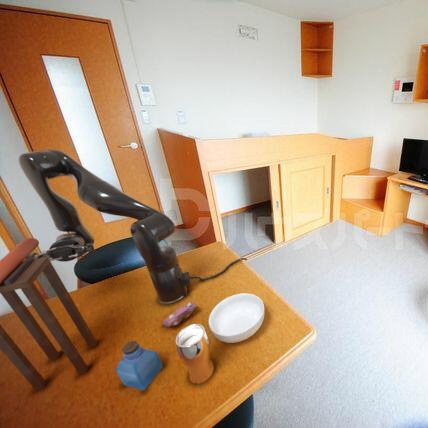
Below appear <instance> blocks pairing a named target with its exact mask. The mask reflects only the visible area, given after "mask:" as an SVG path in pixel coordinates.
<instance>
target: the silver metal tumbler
mask: <svg viewBox="0 0 428 428" xmlns="http://www.w3.org/2000/svg"><path fill="white" fill-rule="evenodd" d="M205 329H206V328H205V327H204V325H202V324H200V323H192V324H189V325H187V326H184V327H183V328H182V329H181V330H180V331H179V332H178V333H177V334H176V336H175V344H176V345H175V346H176V349H177V353H178V356H179V359H180V360H181V362H182V363H183V364H184V366H185V367H186V368H187V369H188V371H189V373H188V374H189V376H188V377H189V380H190V381H191V382H192V383H193V384H202V383H205V382H206V381H208V380H209V378H211V376H212V375H213V373H214V370H215V366H214V363H213V361H212V360H211V352H210V350H211V349H210V339H209V337H208V334H207V332H206V330H205Z"/></svg>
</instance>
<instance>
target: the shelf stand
mask: <svg viewBox="0 0 428 428" xmlns="http://www.w3.org/2000/svg"><path fill="white" fill-rule="evenodd" d="M42 273H43V274H44V276H45V278H46V279H47V281H48V283H49V285H50V286H51V288H52V289H53V291H54V292H55V294H56V296H57V297H58V299H59V301H60V303H61V304H62V306H63V307H64V309H65V311H66V312H67V314H68V315H69V317H70V319H71V320H72V322H73V323H74V326H75V327H76V329H77V330H78V332H79V333H80V336H81V337H82V338H83V340H84V342H85V344H86V345H87V347H88V348H89V349H92V348H95V347H97V344H98V341H97V340H96V338H95V335H94V334H93V333H92V331H91V329H90V328H89V326H88V324H87V322H86V320H85V319H84V317H83V315H82V313H81V312H80V310H79V308H78V307H77V305H76V303H75V302H74V300H73V298H72V296H71V295H70V293H69V292H68V291H69V290H68V289H67V287H66V286H65V284H64V282H63V280H62V279H61V277H60V275H59V274H58V272H57V270H56V269H55V267H54V265H53V264H52V261H51V262H50V260H49V258H48V257H44V258H43V257H42V258H39V259H34V257H33V256H30V257H28V258H27V259H25V260H24V261H23V262H22V263H21V264H20V265H19V266H18V267H17V268H16V269H15V270H14V271H13V272H12V273H11V274H10V275H9V276H8V277H7V278H6V279H5V280H4V281H3V282H2V283H1V284H0V294H1V296H2V297H3V299H4V300H5V301H6V303H7V304H8V305H9V307H10V308H11V310H12V311H13V312H14V314H15V315H16V317H18V319H19V320H20V321H21V323H22V324H23V326H24V327H25V329H27V331H28V333H29V334H30V335H31V337H32V338H33V339H34V340H35V342H36V343H37V344H38V346H39V347H40V348H41V350H42V351H43V353H44V354H45V355H46V356H47V358H48V360H49V361H50V362H53V361H56V360H59V358H60V356H61V354H60V352H59V351H58V349H57V348H56V347H55V346H54V344H53V342H52V341H51V340H50V338H49V337H48V335H47V334H46V332H45V331H44V330H43V328H42V327H41V326H40V324H39V323H38V321H37V320H36V318H35V317H34V316H33V313H31V311H30V309H29V308H28V307H27V305H26V304H25V302H24V301H23V300H22V298H21V296H19V294H18V293H17V292H16V291H17V290H21V292H22V293H23V294H24V296H25V298H26V299H27V301H28V302H29V303H30V305H31V307H32V308H33V309H34V311H35V312H36V313H37V315H38V316H39V318H40V320H41V321H42V323H43V324H44V325H45V326H46V328H47V330H48V331H49V332H50V334H51V335H52V337H53V338H54V340H55V342H56V343H57V344H58V345H59V347H60V348H61V350H62V351H63V353H64V354H65V356H66V357H67V358H68V360H69V362H70V363H71V364H72V366H73V367H74V369H75V370H76V373H78V375H79V376H80V375H84V374H87V372H88V371H89V366H88V365H87V363H86V361H85V360H84V358H83V356H81V354H80V353H79V351H78V349H77V347H76V346H75V345H74V343H73V341H72V340H71V338H70V337H69V335H68V334H67V333H66V331H65V328H64V327H63V326H62V324H61V323H60V321H59V320H58V319H57V317H56V315H55V314H54V312H53V311H52V309H51V307H50V306H49V304H48V303H47V301H46V299H45V298H44V296H43V295H42V294H41V292H40V290H39V289H38V287H37V285H36V284H35V281H36V280H37V279H38V277H39V276H40V275H41V274H42ZM0 350H1V352H2V353H3V354H4V355H5V356H6V357H7V358H8V360H9V361H10V362H11V363H12V364H13V366H14V368H16V369H17V371H19V373H20V374H21V375H22V376H23V377H24V379H25V380H26V381H27V382H28V383H29V384H30V385H31V387H32V388H33V389H34V390H35V391H39V390H42V389H44V388H45V386H46V384H47V380H45V378H44V377H43V376H42V375H41V374H40V372H39V370H37V368H36V367H35V366H34V365H33V363H32V362H31V361H30V360H29V358H28V357H27V356H26V355H25V354H24V352H23V351H22V350H21V349H20V347H19V346H18V345H17V343H15V340H13V338H11V336H10V335H9V334H8V332H7V331H6V330H5V328H4V327H3V326H2V325H1V324H0Z"/></svg>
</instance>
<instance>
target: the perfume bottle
mask: <svg viewBox="0 0 428 428" xmlns="http://www.w3.org/2000/svg"><path fill="white" fill-rule="evenodd" d="M121 352H122V356H123V357H122V358H121V359H120V360H119V362H118V365H117V367H116V369H115V372H116V373H117V375H118V377H119V378H120V380H121V382H122V384H123V385H124V386H125V387H128V388H129V387H130V388H133V389H137V390H140V391H145V390H146V389H147V388H148V387H149V385H150V384H151V383H152V381H154V379H155V378H156V376H158V374H159V373H160V371H161V370H162V369H163V368H164V366H163V363H162V361H161V358H160V356H159V354H158V352H157V351H155V350H151V349H147V348H143V347H141V346H140V344H139V343H138V341H137V340H130V341H128V342H126V343H125V344H124V345H123V346H122V348H121Z"/></svg>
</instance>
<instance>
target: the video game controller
mask: <svg viewBox="0 0 428 428" xmlns="http://www.w3.org/2000/svg"><path fill="white" fill-rule="evenodd" d="M197 307H198V306H197V305H196V304H195V303H194V302H188V303H186V304H185V305H182V306H179V307H178V308H176V309H175V310H174V312H172V313H171V314H170V315H169V316H168V317H167V318H166V319H164V320H162V324H163V327H165V328H172V327H173V326H177V325H179V324H180V323H181V322H182V321H183V320H182V317H183V319H187V318H189V317H190V316H191V314H192V313H193V312H194V311H195V310H196V308H197Z"/></svg>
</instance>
